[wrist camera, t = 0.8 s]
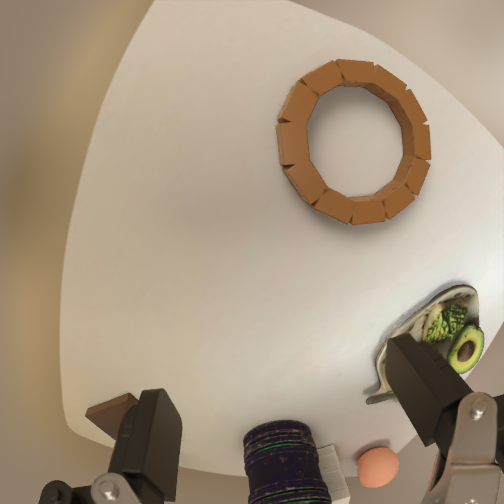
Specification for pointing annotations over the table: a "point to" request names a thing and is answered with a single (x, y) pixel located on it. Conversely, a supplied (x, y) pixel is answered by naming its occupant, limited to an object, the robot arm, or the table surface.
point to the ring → (297, 150)
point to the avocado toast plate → (441, 333)
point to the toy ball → (377, 467)
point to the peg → (111, 415)
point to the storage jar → (283, 465)
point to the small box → (333, 475)
